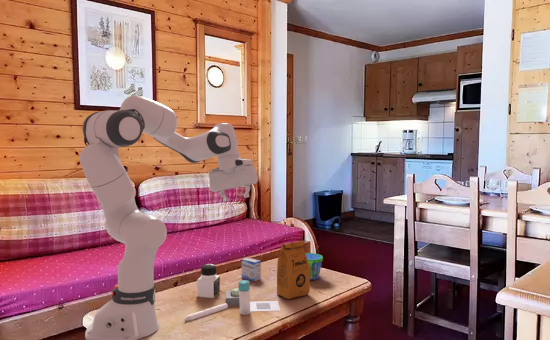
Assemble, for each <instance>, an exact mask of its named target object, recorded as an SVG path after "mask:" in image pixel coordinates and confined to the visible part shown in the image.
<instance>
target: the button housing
mask: <svg viewBox="0 0 550 340" xmlns="http://www.w3.org/2000/svg"><path fill="white" fill-rule="evenodd" d="M225 303H227V305H228V307H229V306H231V307H233V306H240V304H239V296H232V289H231V290H226V289H225Z"/></svg>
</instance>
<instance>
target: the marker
mask: <svg viewBox="0 0 550 340" xmlns="http://www.w3.org/2000/svg"><path fill="white" fill-rule="evenodd" d="M228 307H229V306H228V305H227V303H226V302H225V303H222V304H218V305H216V306H213V307H209V308H205V309H203V310H200V311H197V312H193V313H191V314H188V315H186V316H185V318H184V319H183V320H184V321H186V322H188V321H189V322H190V321H193V320H196V319H201V318H202V317H205V316H208V315H210V314H214V313H217V312H220V311H223V310H226V309H229V308H228Z"/></svg>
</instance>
